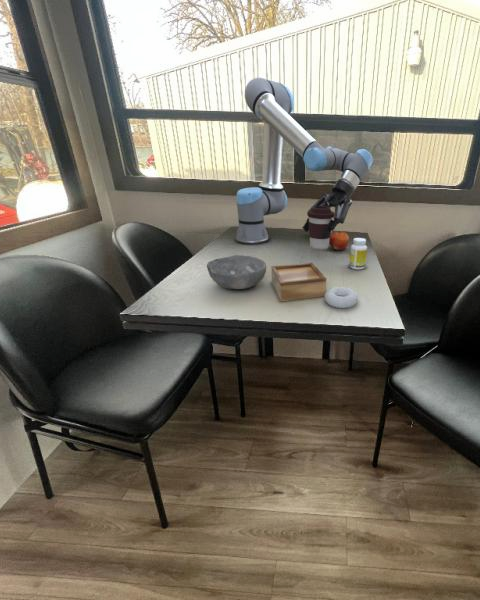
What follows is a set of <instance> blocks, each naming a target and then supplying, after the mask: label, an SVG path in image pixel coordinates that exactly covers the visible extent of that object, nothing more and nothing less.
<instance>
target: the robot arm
mask: <svg viewBox="0 0 480 600" xmlns="http://www.w3.org/2000/svg"><path fill="white" fill-rule="evenodd" d="M244 99H245V103H246V105H247V107H248V109H249V110H250V111H251V112H252V113H253V114H254V115H255V116H256V117H257V118H258V119H260V120H261V121H262V122H263V141H262V145H263V146H262V181H261V182H260V183H259V184H258V187H255V186H254V187H253V186H252V187H245V188H241V189H239V190H238V191H237V192H236V199H235V201H236V207H237V219H238V226H237V231H236V234H235V240H236V242H237V243H239V244H244V245H259V244H264V243H266V242H268V241H269V234H268V231H267V228H266V226H265V218H264V217H265V216H269V215H277V214H279V213H281V212H283V211H284V210H285V209H286V207H287V205H288V196H287V194H286V192H285V190H284V185H283V184H282V183H281V181H282V180H281V179H282V178H281V177H282V163H283V162H282V161H283V145H284V144H283V143H284V141H285V142H286V143H287V144H288V145H289V146H290V147H291V148H293V150H295V152H297V153H298V155H299V156H301V157H302V158H303V163H304V166H305V168H306V169H307V170H309V171H311V172H323V171H338V172H342V173H341V175H340V176H339V177H338V179H337V181H336V182H335V183H334V185H333V186H332V189H331V192H330V193H329V194H327V193H326V192H324V193H322V195H321V197H320V198H319V199H318V200H317V201H316V202H315V203H314V204H313V205H312V206H311V207H310V208H309V209H308V210H307V212H308V211H309V210H311V208H312V207H313V206H326V207H329V208H330V209H331V208H334V211H333V212H334V217H333V219H334V221H333V220H332V219H331V221H330V222H329V224H328V225H327V227H326V228H325V230H324V231H323V233H322V235H323V236H324V237H325V238H327V237H328V236H329V234H330V233H331V231H332V232H333V231H334V230H335V229H336V227H337V226H338V225H339V224H341V225H343V224H345V221H346V218H347V215H348V212H349V210H350V207H351V206H352V204H353V201H352V199H351V196H352V195H353V193H354V191H355V190H356V189H357V187H358V186H359V184H360V183H361V181H362V180H363V178H364V177H365V175H366V174H367V172H368V171H369V169H370V168H371V166H372V164H373V162H374V158H373V156H372V154H371V153H370V151H368V150H367V149H364V148H361V149H358V150H357V151H356V152H355V153H353V152H350V151H345V150H343V149H341V148H338V147H335V146H326V147H323V146H322V145H321V144H320V143H319V142H318V141H317V140H316V139H315V138H314V137H313V136H312V135H311V134H310V133H309V132H308V131H307V130H305V129H304V127H302V126H301V125H300V124H299V123H298V122H297V121H296V119H294V118H293V117H292V116H291V114H292V113H293V110H294V108H295V99H294V95H293V93H292V91H291V89H290V88H289V87H288V86H287V85H285V84H283V83H281V82H279V81H278V82H277V81H274V80H271V79H266V78H265V77H264V78H263V77H254V78H252V79H251V80H249V81H248V82H247V84H246V86H245V89H244ZM301 229H303V230H304V231H305V233H309V216H307V219H306V220H305V223H304V224H303V226H302V228H301ZM331 234H332V233H331Z"/></svg>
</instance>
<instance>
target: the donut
mask: <svg viewBox="0 0 480 600" xmlns="http://www.w3.org/2000/svg"><path fill="white" fill-rule="evenodd" d="M323 297H324V301H325V302H326V303H327V304H328V305H329V306H331V307H333V308H338V309H349V308H352V307H353V306H355V305H356V304H357V303H358V301H359V297H358V293H357V292H356V291H355V290H354V289H352V288H349V287H344V286H334V287H331V288H329V289H326V293H325V296H323Z"/></svg>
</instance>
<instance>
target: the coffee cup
mask: <svg viewBox="0 0 480 600" xmlns="http://www.w3.org/2000/svg"><path fill="white" fill-rule="evenodd" d="M312 206H313V205H312ZM312 206H311V207H312ZM311 207H310V208H311ZM308 210H309V209H308ZM308 210H307V211H306V212H307V213H306V216H307V217H309V230H308V238H309V247H310V248H311V249H314V250H326V249H328V248H329V246H330V244H329V239H330V236H331V235H332V233H330V234H329V236H328V237H327V238H325V237H324V236H323V235H322V233H323V231H324V230H325V228H326V227H327V225H328V224H329V222H330V221H331V219H332V218H333V219H334V212H335V211H334V210H333V211H332V209H331V207H330V208H329V207H326V206H313V207H312V208H311V210H309V211H308Z"/></svg>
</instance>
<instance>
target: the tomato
mask: <svg viewBox="0 0 480 600" xmlns="http://www.w3.org/2000/svg"><path fill="white" fill-rule="evenodd" d="M349 242H350V237H349V235H348V234H347V233H346V232H344V231H342V230H339V231H335V232H332V233H331V235H330V239H329V246H330V247H331V248H332V249H334V250H336V251H341V250H345V249H346V248H347V247H348V245H349Z"/></svg>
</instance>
